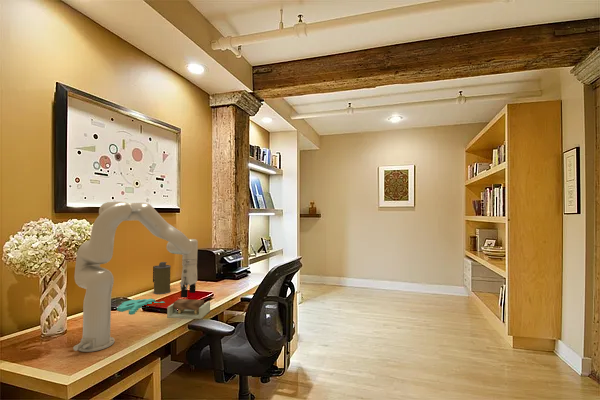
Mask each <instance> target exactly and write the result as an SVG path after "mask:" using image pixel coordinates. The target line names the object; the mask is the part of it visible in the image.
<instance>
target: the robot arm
mask: <svg viewBox="0 0 600 400" xmlns="http://www.w3.org/2000/svg"><path fill="white" fill-rule="evenodd" d="M126 221H137V222H139V223H141V225H143V226H144V227H145V228H146V229H147V230H148V231H149V232H150V234H152V235H153V236H155V237H156V238H159V239H162V240H165V241H166V242H167V243H166V250H167V251H168V252H169V253H171V254H174V255H182V261H181V265H182V269H181V276H180V277H181V279H180V283H179V284H180V298H188V291H189V293H190V294H195V293H196V286H197V282H198V251H199V250H198V248H199V244H198V243H199V241H198V239H196V238H188V236H187V235H185V234H184V232H182V231H181V230H179V229H178V228H176V227H175V226H173V225H172V224H170V223H169V222H167V220H166V219H164V217H162V216H161V214H160V213H159V212H158V211H157V210H156V209H155V208H154V207H153V206H152V205H151V204H149V203H147V202H126V201H106V202H105V203H103V204H102V205H100V207H99V209H98V216H97V217H96V219H95V220H94V221H93V225H92V227H91V232H90V238H89V240H86V241H84V242H82V244H80V246H79V248H78V250H77V252H76V259H75V265H74V266H75V267H74V282H75V284H76V285H77V286H78V287H79V288H81V289H85V295H84V299H83V306H82V309H83V310H82V312H83V313H82V314H83V315H82V338H80V342H79V343H78V344H76V345H74V346H73V347H72V349H73V351H75V352H77V351H79V352H82V353H90V352H97V351H102V350H104V349H105V350H106V349H107V348H109V347H110V346H112V345H114V343H115V338H114V337H113V336H112V337H111V326H112V325H111V322H112V321H111V320H112V318H111V317H112V316H111V315H112V312H111V311H112V293H113V292H112V291H113V287H114V282H115V278H114V274H113V273H112V271H111V270H109V269H108V268H105V267H101V265H104V264H107V263H109V262H110V261H111V260H112V258H113V255H114V245H115V237H116V236H115V235H116V231H117V230H118V229H117V228H118V226H119V225H120V224H121V223H122V222H126ZM188 287H189V290H188Z"/></svg>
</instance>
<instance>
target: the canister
mask: <svg viewBox="0 0 600 400" xmlns="http://www.w3.org/2000/svg"><path fill="white" fill-rule="evenodd" d="M167 263H168V261H167V262H166V261H160V262H159V265H153V267H152V283H153V294H154V295H166V294H169V293H170V292H171V268H172V266H171V265H169V264H167Z"/></svg>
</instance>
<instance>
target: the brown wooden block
mask: <svg viewBox="0 0 600 400" xmlns="http://www.w3.org/2000/svg"><path fill="white" fill-rule="evenodd" d="M173 303H174V308H173V309H183V310H199V308H200V307H201V306H202V305H203V304H205V300H204V299H189V298H188V299H186V298H179V299H177V300H175V301H173Z"/></svg>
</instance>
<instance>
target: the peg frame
mask: <svg viewBox="0 0 600 400" xmlns="http://www.w3.org/2000/svg"><path fill="white" fill-rule="evenodd" d="M173 308H174V302H173V303H171V304H170V305H168V306H166V309H167V312H166V314H167V317H166V318H168V319H188V320H189V319H191V320H192V319H193V320H194V319H196V320H198V319H199V320H201V319H203V318H204V317H205V316H207V315H208V314H209V312H211V301H210V300H208V301H206V302H204V304H203V305H202V306H201V307H200V308H199V310H183V309H178V311H177V309H173Z"/></svg>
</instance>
